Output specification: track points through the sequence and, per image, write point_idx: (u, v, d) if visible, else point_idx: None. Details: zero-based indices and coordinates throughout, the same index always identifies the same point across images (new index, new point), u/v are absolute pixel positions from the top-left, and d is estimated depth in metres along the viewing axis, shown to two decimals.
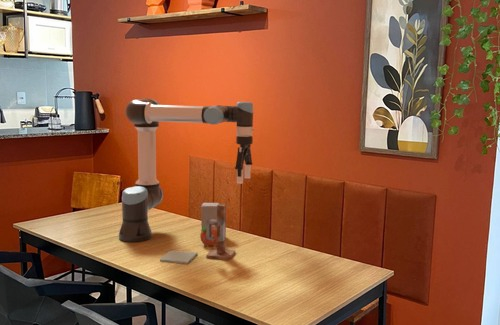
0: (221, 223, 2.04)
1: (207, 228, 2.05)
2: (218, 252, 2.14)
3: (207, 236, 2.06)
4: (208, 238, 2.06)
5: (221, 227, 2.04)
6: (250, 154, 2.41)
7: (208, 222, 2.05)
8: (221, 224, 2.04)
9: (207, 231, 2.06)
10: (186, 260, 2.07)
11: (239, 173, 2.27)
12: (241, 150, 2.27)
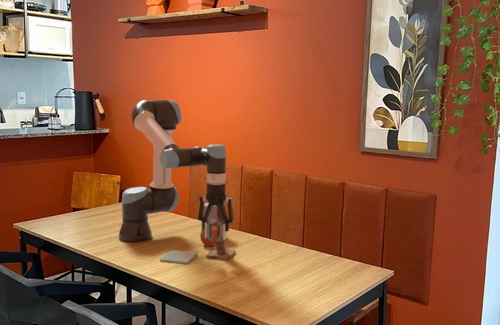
0: (221, 223, 2.04)
1: (207, 228, 2.05)
2: (218, 252, 2.14)
3: (207, 236, 2.06)
4: (208, 238, 2.06)
5: (221, 227, 2.04)
6: (228, 210, 2.03)
7: (208, 222, 2.05)
8: (221, 224, 2.04)
9: (207, 231, 2.06)
10: (186, 260, 2.07)
11: None
12: None
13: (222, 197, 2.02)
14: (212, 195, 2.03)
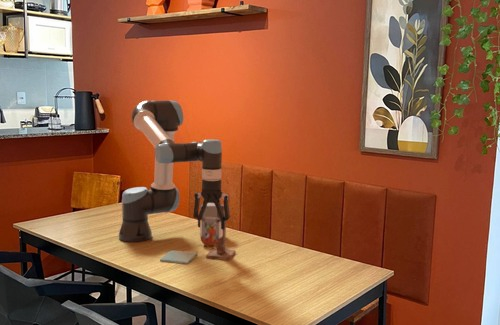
0: (217, 221, 1.97)
1: (202, 226, 1.99)
2: (218, 252, 2.14)
3: (202, 234, 2.00)
4: (203, 236, 2.00)
5: (217, 225, 1.98)
6: (224, 208, 1.96)
7: (203, 220, 1.99)
8: (217, 222, 1.97)
9: (202, 229, 1.99)
10: (186, 260, 2.07)
11: None
12: None
13: (218, 194, 1.96)
14: (207, 192, 1.97)
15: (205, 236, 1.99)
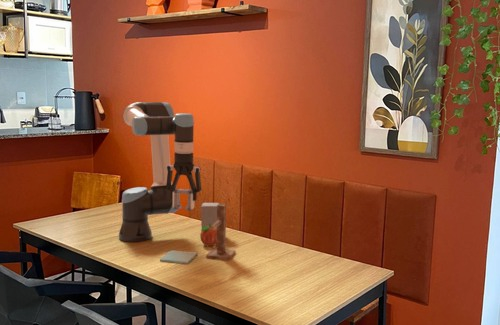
0: (189, 192, 2.04)
1: (175, 197, 2.05)
2: (218, 252, 2.14)
3: (175, 205, 2.06)
4: (176, 207, 2.06)
5: (189, 196, 2.04)
6: (196, 180, 2.02)
7: (176, 191, 2.05)
8: (189, 193, 2.04)
9: (175, 200, 2.06)
10: (186, 260, 2.07)
11: None
12: None
13: (190, 166, 2.02)
14: (180, 164, 2.03)
15: (177, 207, 2.06)
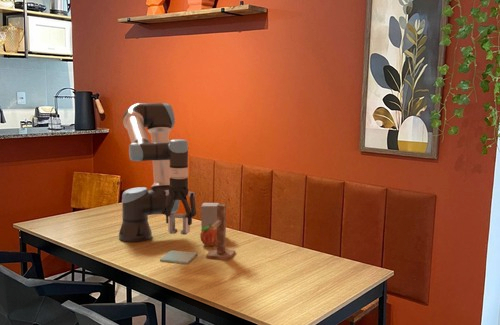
0: (184, 217, 2.07)
1: (170, 222, 2.09)
2: (218, 252, 2.14)
3: (170, 230, 2.09)
4: (171, 232, 2.09)
5: (184, 221, 2.07)
6: (191, 204, 2.06)
7: (171, 216, 2.08)
8: (184, 218, 2.07)
9: (170, 225, 2.09)
10: (186, 260, 2.07)
11: None
12: None
13: (184, 191, 2.06)
14: (175, 189, 2.07)
15: (173, 231, 2.09)
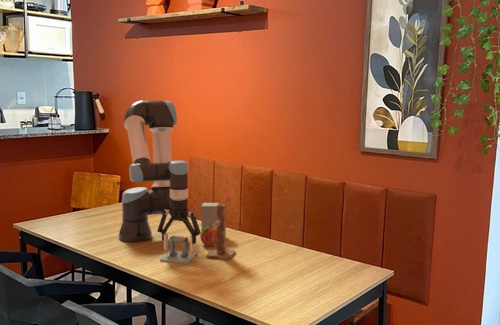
0: (184, 240, 2.09)
1: (170, 245, 2.10)
2: (218, 252, 2.14)
3: (170, 253, 2.11)
4: (171, 255, 2.11)
5: (184, 244, 2.09)
6: (193, 224, 2.07)
7: (171, 239, 2.10)
8: (184, 241, 2.09)
9: (170, 248, 2.10)
10: (186, 260, 2.07)
11: None
12: None
13: (184, 212, 2.07)
14: (175, 211, 2.08)
15: (173, 255, 2.11)
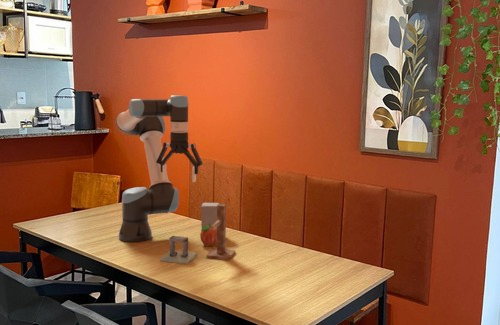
0: (184, 240, 2.09)
1: (170, 245, 2.10)
2: (218, 252, 2.14)
3: (170, 253, 2.11)
4: (171, 255, 2.11)
5: (184, 244, 2.09)
6: (194, 155, 2.14)
7: (171, 239, 2.10)
8: (184, 241, 2.09)
9: (170, 248, 2.10)
10: (186, 260, 2.07)
11: None
12: None
13: (184, 145, 2.15)
14: (176, 145, 2.16)
15: (173, 255, 2.11)
